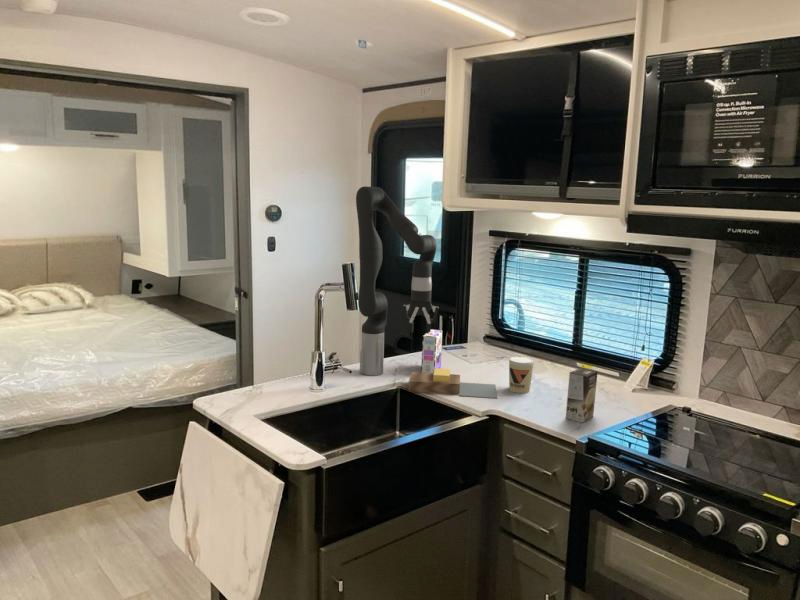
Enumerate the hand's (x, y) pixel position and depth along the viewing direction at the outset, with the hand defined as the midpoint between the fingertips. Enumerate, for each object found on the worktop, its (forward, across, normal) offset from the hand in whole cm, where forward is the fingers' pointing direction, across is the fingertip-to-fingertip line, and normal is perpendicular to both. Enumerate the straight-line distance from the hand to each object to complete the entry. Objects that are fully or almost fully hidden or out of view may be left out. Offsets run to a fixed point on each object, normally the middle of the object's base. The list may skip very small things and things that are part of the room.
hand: (419, 332), depth 233 cm
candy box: (+22, +4, +23) cm, 32 cm away
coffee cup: (+22, +39, +4) cm, 45 cm away
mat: (+21, +23, 0) cm, 31 cm away
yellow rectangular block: (+17, +9, 0) cm, 20 cm away
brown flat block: (+21, +6, 0) cm, 22 cm away
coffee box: (+22, +57, -22) cm, 65 cm away
